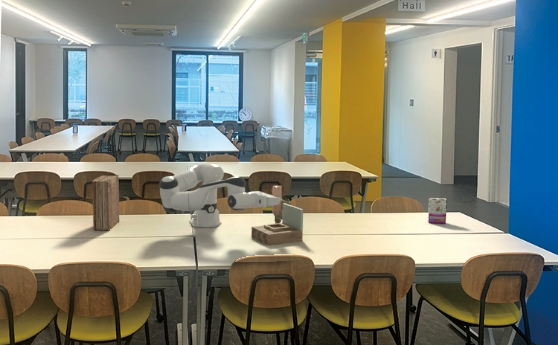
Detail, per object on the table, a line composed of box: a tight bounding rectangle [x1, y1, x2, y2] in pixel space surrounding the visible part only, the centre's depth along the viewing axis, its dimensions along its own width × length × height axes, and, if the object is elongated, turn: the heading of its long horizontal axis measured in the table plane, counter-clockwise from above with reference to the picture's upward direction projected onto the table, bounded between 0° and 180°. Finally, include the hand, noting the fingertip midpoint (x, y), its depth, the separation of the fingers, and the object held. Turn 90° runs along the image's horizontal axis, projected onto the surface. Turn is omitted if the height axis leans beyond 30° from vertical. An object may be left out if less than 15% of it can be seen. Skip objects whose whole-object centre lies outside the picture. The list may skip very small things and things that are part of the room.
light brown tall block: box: [271, 185, 283, 212], centre depth 310 cm, size 5×5×14 cm
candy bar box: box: [427, 197, 448, 225], centre depth 362 cm, size 11×5×16 cm, turn 81°
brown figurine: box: [271, 187, 292, 224], centre depth 337 cm, size 11×13×25 cm
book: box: [91, 174, 120, 232], centre depth 333 cm, size 25×9×30 cm, turn 3°
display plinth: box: [250, 203, 304, 246], centre depth 312 cm, size 20×22×18 cm
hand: (278, 197), depth 310 cm, fingers closed on light brown tall block, 5 cm apart
